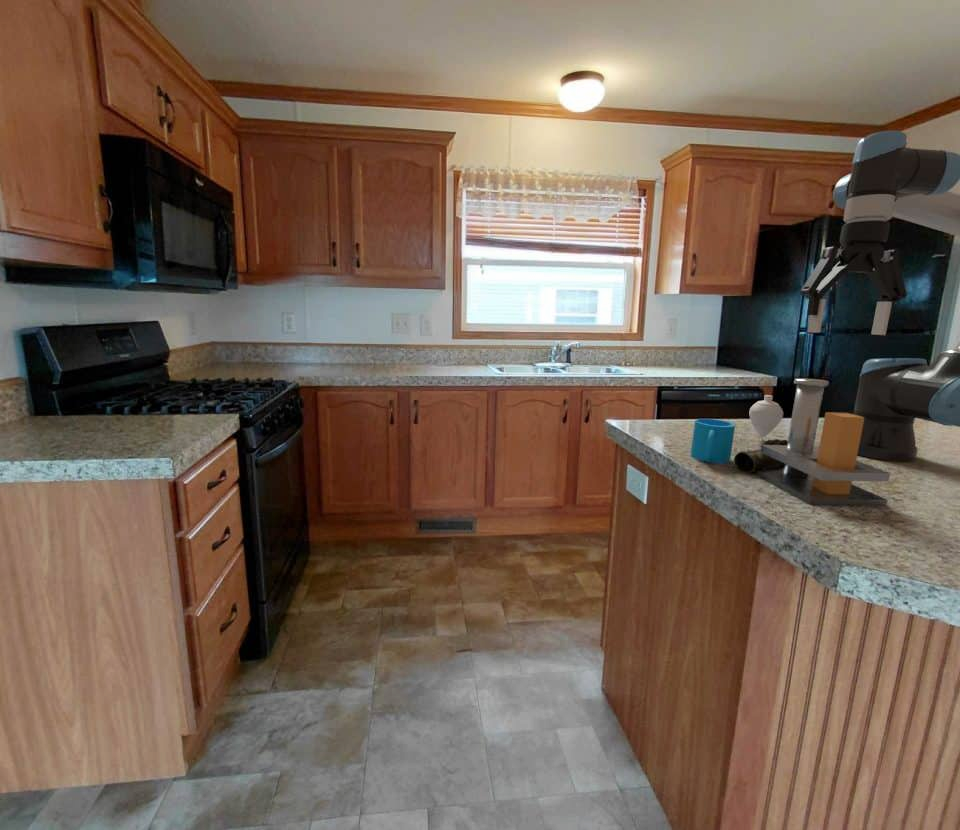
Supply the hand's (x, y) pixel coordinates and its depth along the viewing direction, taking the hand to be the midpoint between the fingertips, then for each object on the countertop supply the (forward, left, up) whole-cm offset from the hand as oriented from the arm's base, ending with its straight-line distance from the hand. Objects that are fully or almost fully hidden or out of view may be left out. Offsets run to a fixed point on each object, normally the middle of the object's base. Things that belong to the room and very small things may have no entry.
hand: (846, 333), depth 102 cm
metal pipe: (+11, -2, -29) cm, 31 cm away
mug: (+22, -6, -29) cm, 37 cm away
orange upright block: (+10, +16, -28) cm, 33 cm away
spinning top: (-2, -25, -29) cm, 38 cm away
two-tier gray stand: (+10, +12, -29) cm, 33 cm away
